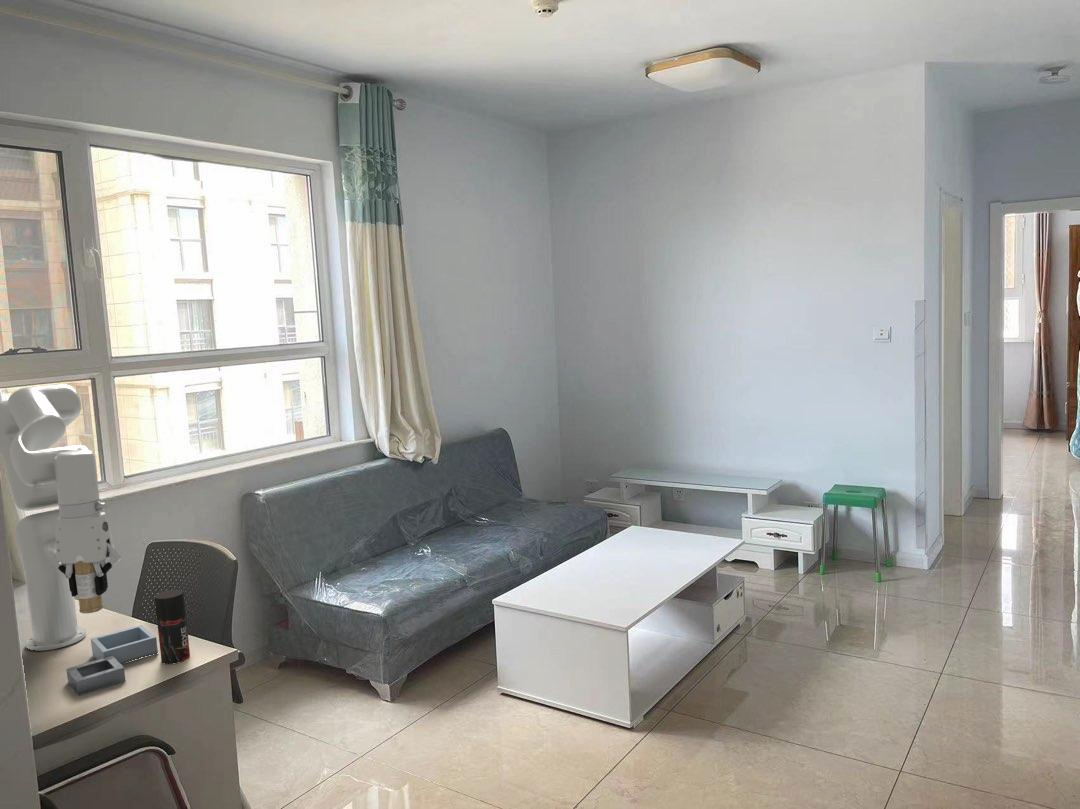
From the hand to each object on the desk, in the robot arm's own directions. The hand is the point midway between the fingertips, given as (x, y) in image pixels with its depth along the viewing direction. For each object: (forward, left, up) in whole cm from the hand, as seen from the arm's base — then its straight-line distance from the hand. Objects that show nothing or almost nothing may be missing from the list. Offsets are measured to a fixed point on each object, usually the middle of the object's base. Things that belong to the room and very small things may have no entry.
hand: (89, 592), depth 173 cm
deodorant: (+2, +15, -19) cm, 25 cm away
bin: (-9, +8, -19) cm, 23 cm away
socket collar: (+2, -1, -19) cm, 19 cm away
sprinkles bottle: (0, 0, -4) cm, 4 cm away
